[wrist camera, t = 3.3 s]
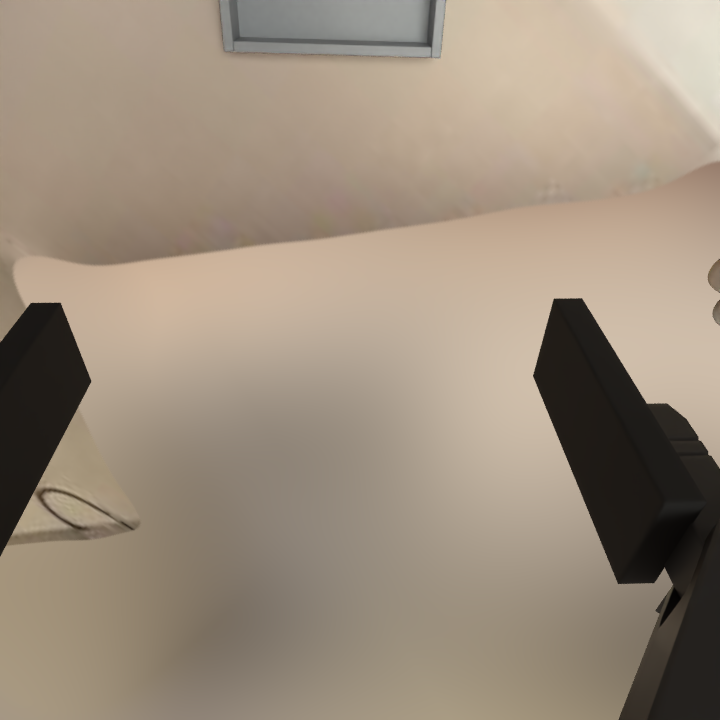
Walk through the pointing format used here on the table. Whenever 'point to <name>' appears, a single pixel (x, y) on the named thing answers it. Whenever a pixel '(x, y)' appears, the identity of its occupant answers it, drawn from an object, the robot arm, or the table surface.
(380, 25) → the tin
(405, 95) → the table surface
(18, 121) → the table surface
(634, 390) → the robot arm
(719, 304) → the chubby cartoon animal
